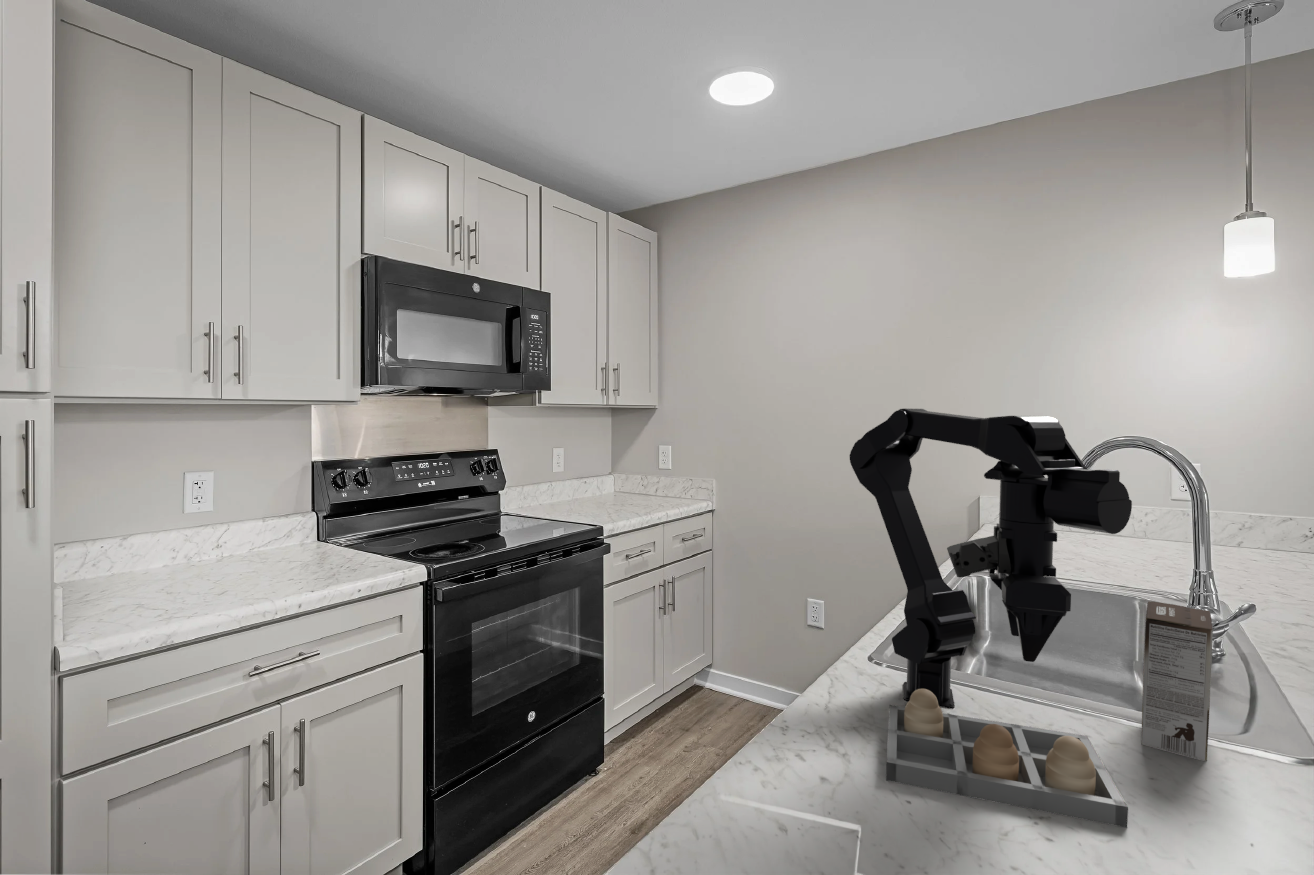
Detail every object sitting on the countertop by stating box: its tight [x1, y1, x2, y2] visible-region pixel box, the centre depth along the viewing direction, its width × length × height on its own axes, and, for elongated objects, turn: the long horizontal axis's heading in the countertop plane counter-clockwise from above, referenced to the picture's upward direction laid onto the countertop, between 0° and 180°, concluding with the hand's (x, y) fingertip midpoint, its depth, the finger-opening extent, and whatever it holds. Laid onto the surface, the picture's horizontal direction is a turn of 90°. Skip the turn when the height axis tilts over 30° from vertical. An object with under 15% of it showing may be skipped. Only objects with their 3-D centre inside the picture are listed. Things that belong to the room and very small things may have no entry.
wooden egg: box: [972, 724, 1019, 782], centre depth 70 cm, size 4×4×6 cm
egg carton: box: [885, 704, 1129, 829], centre depth 74 cm, size 15×22×2 cm
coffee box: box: [1140, 600, 1214, 762], centre depth 80 cm, size 9×6×16 cm
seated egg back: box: [904, 689, 944, 738], centre depth 79 cm, size 4×4×6 cm
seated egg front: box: [1045, 736, 1096, 796], centre depth 68 cm, size 4×4×6 cm
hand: (1022, 647), depth 79 cm, fingers open, 9 cm apart
